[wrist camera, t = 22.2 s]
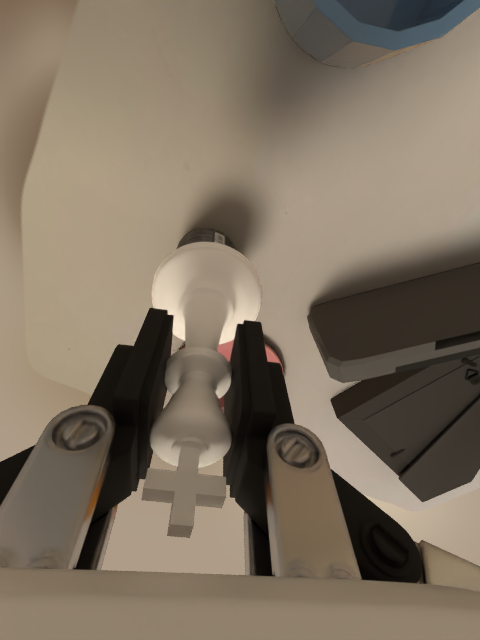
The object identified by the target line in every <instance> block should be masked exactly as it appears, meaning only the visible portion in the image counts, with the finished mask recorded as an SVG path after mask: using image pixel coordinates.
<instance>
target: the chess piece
mask: <svg viewBox="0 0 480 640" xmlns="http://www.w3.org/2000/svg"><path fill="white" fill-rule="evenodd" d="M261 298H262V287H261V282H260V278H259V276H258V273H257V271H256V269H255V268H254V266H253V265H252V264H251V262H250V261H249V260H248V259H247V258H246V257H245V256H244V255H242V254H241V253H240V252H238V251H237V250H235V249H233V248H231V247H229V246H226V245H223V244H220V243H215V242H196V243H191V244H187V245H184V246H182V247H180V248H178V249H176V250H174V251H173V252H171V253H170V254H169V255H168V256H167V257H166V258H165V259H164V260H163V261H162V262H161V264H160V265H159V267H158V269H157V271H156V273H155V276H154V279H153V286H152V303H153V307H154V308H156V309H164V310H168V315H173V316H174V319H173V332H172V334H173V335H175V336H176V337H178V338H180V339H182V340H184V341H185V349H182V350H179V351H177V352H176V353H174V354H173V355H172V356H170V358H169V359H168V360H167V363H166V370H165V380H164V382H165V385H166V387H167V389H168V390H169V392H170V393H171V394H172V395H173V396H172V397H171V399H170V401H169V403H168V404H167V406H166V407H165V408H164V409H163V410H162V411H161V412H160V414H159V415H158V417H157V418H156V420H155V421H154V423H153V425H152V427H151V430H150V439H149V441H150V445H151V448H152V450H153V451H154V452H155V454H156V455H157V456H158V457H159V458H161V459H162V460H163V461H165V462H167V463H169V464H171V465H174V466H177V471H169V470H160V469H152V468H148V470H147V475H146V479H145V484H144V488H143V494H142V500H146V501H156V502H166V503H172V507H171V514H170V520H169V527H168V534H167V536H175V537H187V538H190V535H191V532H192V529H193V525H194V513H195V505H197V506H207V507H217V508H222V506H223V503H224V501H225V498H226V477H220V476H212V475H204V474H198V468H201V467H205V466H209V465H211V464H213V463H215V462H217V461H219V460H220V459H221V458H223V457H224V456H225V455H226V454H227V452H228V451H229V449H230V446H231V443H232V434H231V429H230V426H229V423H228V421H227V418H226V416H225V415H224V413H223V411H222V409H221V406H220V402H219V398H221V397H222V396H223V395H225V393H226V392H227V391H228V389H229V387H230V384H231V376H232V367H231V364H230V363H229V361H228V360H227V359H226V358H225V357H224V356H223V355H222V354H220V353H219V352H217V350H218V346H219V344H223V343H227V342H230V341H232V340H234V337H235V332H236V327H237V324H243V322H244V320H248V321H255V320H256V318H257V316H258V313H259V310H260V306H261Z"/></svg>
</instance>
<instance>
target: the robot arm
mask: <svg viewBox="0 0 480 640" xmlns="http://www.w3.org/2000/svg"><path fill="white" fill-rule="evenodd" d="M173 319H174V316H173V315H168V310H164V309H156V308H150V309H149V311H148V313H147V316H146V318H145V321H144V323H143V325H142V328H141V330H140V332H139V335H138V337H137V340H136V342H135V344H134V346H129V345H120V344H119V345H117V347H116V348H115V350H114V352H113V354H112V356H111V358H110V360H109V362H108V364H107V366H106V368H105V370H104V372H103V374H102V377H101V379H100V381H99V383H98V385H97V387H96V389H95V391H94V393H93V395H92V397H91V399H90V401H89V403H88V405H80V406H76V407H71V408H69V409H67V410H65V411H63V412H61V413H59V414H58V415H57V416H56V417H54V418H53V419H52V420H51V421H50V422H49V424H48V425H47V426H46V428H45V430H44V431H43V433H42V435H41V436H40V438H39V440H38V442H37V443H36V445H34V446H32V447H30V448H28V449H26V450H24V451H22V452H20V453H18V454H16V455H14V456H12V457H10V458H8V459H5V460H3V461H1V462H0V640H480V566H478V565H475V564H473V563H471V562H469V561H467V560H465V559H462V558H460V557H458V556H456V555H454V554H452V553H449V552H447V551H445V550H443V549H441V548H439V547H436V546H434V545H432V544H430V543H428V542H425V541H423V540H421V541H420V543H416V542H414V541H413V540H412V538H411V537H410V535H409V534H408V533H407V532H406V530H405V529H404V528H403V527H401V526H400V525H399V524H398V523H397V522H396V521H395V520H393V519H392V518H391V517H390V516H389V515H387V514H386V513H385V512H384V511H382V510H381V509H380V508H379V507H377V506H376V505H375V504H374V503H373V502H371V501H370V500H368V499H367V498H366V497H365V496H364V495H363V494H361V493H360V492H359V491H358V490H356V489H355V488H354V487H353V486H351V485H350V484H349V483H348V482H346V481H345V480H344V479H343V478H342V477H340V476H339V475H338V474H337V473H335V472H334V471H333V470H332V469H330V466H329V462H328V459H327V455H326V451H325V449H324V446H323V444H322V442H321V441H320V440H319V438H318V437H317V436H316V435H315V434H314V433H313V432H311V431H310V430H309V429H307V428H305V427H302V426H300V425H296V424H294V419H293V415H292V411H291V406H290V402H289V397H288V393H287V388H286V384H285V379H284V375H283V370H282V366H281V364H280V363H276V362H268V361H267V355H266V349H265V343H264V337H263V331H262V325H261V322H256V321H248V320H244V322H243V324H237V327H236V332H235V337H234V342H233V347H232V352H231V357H230V362H229V363H230V364H231V367H232V376H231V384H230V387H229V389H228V391H227V392H226V393H225V395H224V415H225V416H226V418H227V421H228V423H229V426H230V429H231V434H232V443H231V446H230V449H229V451H228V452H227V454H226V455H225V456H224V457H223V460H224V461H223V477H226V485H230V497H232V498H235V501H236V502H237V503H238V505H239V506H240V507H241V508H242V509H243V510H244V543H245V544H244V545H245V575H222V574H220V575H219V574H194V573H165V572H136V571H107V570H101V567H102V564H103V560H104V556H105V553H106V549H107V545H108V541H109V538H110V534H111V530H112V527H113V523H114V519H115V515H116V512H117V506H118V504H119V503H120V502H121V501H123V500H124V499H126V498H127V497H128V496H130V495H131V492H132V491H137V487H138V483H139V479H146V475H147V470H148V468H149V467H150V463H151V458H152V454H153V450H152V448H151V445H150V441H149V439H150V430H151V427H152V425H153V423H154V421H155V420H156V418H157V417H158V415H159V414H160V412H161V411H162V410H163V405H164V401H165V396H166V392H167V387H166V385H165V382H164V380H165V370H166V363H167V360H168V359H169V358H170V356H171V345H172V332H173Z"/></svg>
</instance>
